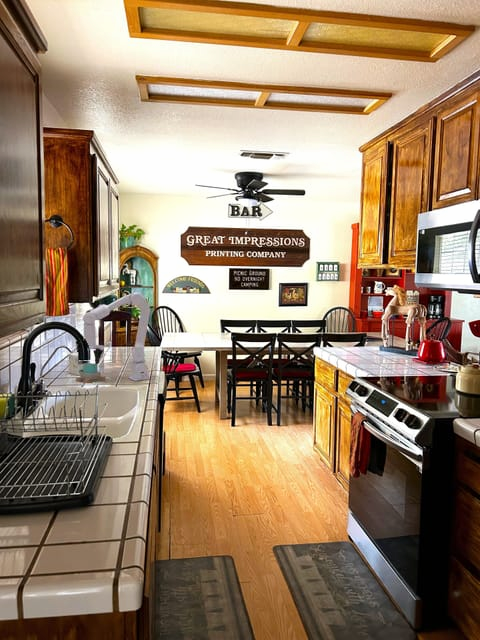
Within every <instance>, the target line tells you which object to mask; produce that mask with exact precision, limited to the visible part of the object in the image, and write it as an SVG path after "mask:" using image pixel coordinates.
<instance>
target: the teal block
mask: <svg viewBox="0 0 480 640" xmlns="http://www.w3.org/2000/svg"><path fill="white" fill-rule="evenodd" d="M98 366H99V364H95V362H94V363H90V362H89V363H88V364H85V365H83V373H95V372H99V368H98Z"/></svg>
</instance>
